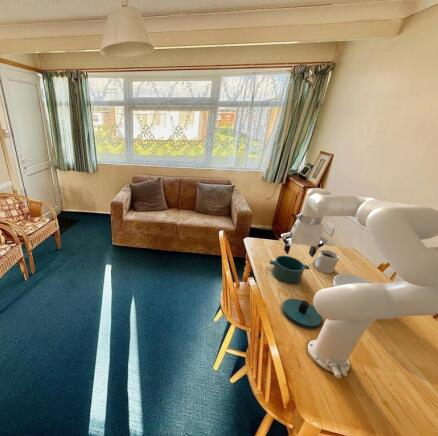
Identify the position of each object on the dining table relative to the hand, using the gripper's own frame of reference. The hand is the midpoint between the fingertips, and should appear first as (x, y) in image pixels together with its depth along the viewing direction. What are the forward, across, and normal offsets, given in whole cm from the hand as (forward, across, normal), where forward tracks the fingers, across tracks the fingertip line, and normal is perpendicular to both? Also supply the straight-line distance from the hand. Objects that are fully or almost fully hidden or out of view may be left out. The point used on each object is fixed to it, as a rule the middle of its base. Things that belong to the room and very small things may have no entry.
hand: (298, 253), depth 100 cm
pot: (+26, +6, +19) cm, 33 cm away
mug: (+26, +28, +31) cm, 49 cm away
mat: (+26, +5, -9) cm, 28 cm away
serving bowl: (+26, +34, +8) cm, 44 cm away
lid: (+25, +5, -9) cm, 27 cm away
